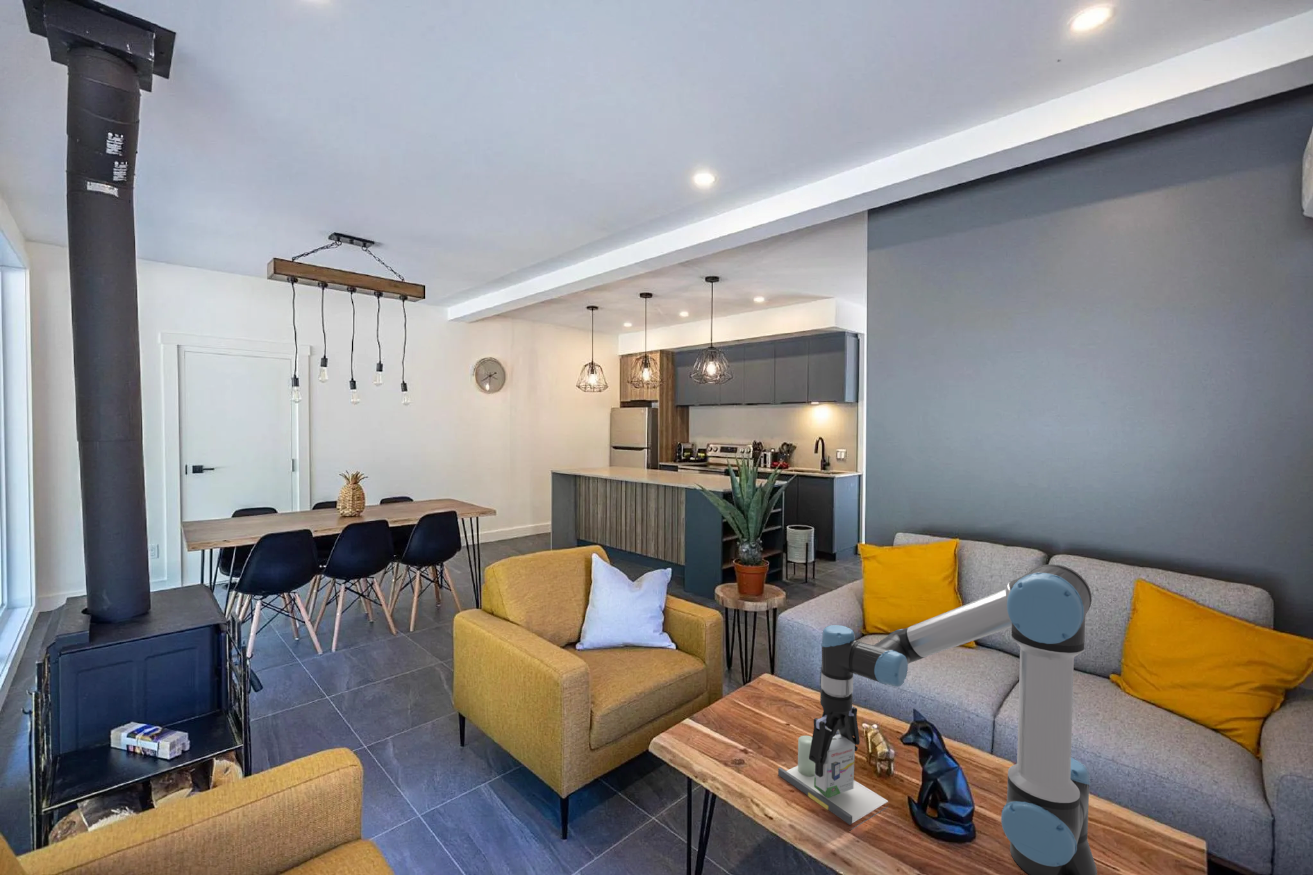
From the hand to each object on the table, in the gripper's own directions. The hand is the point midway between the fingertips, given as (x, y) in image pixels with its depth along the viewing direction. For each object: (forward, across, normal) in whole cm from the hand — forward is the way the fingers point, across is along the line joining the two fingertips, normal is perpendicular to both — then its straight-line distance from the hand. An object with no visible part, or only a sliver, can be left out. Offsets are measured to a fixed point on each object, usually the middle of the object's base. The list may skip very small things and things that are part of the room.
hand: (834, 780), depth 141 cm
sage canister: (+3, -2, -10) cm, 11 cm away
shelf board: (+5, -2, -2) cm, 6 cm away
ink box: (+2, 0, 0) cm, 2 cm away
